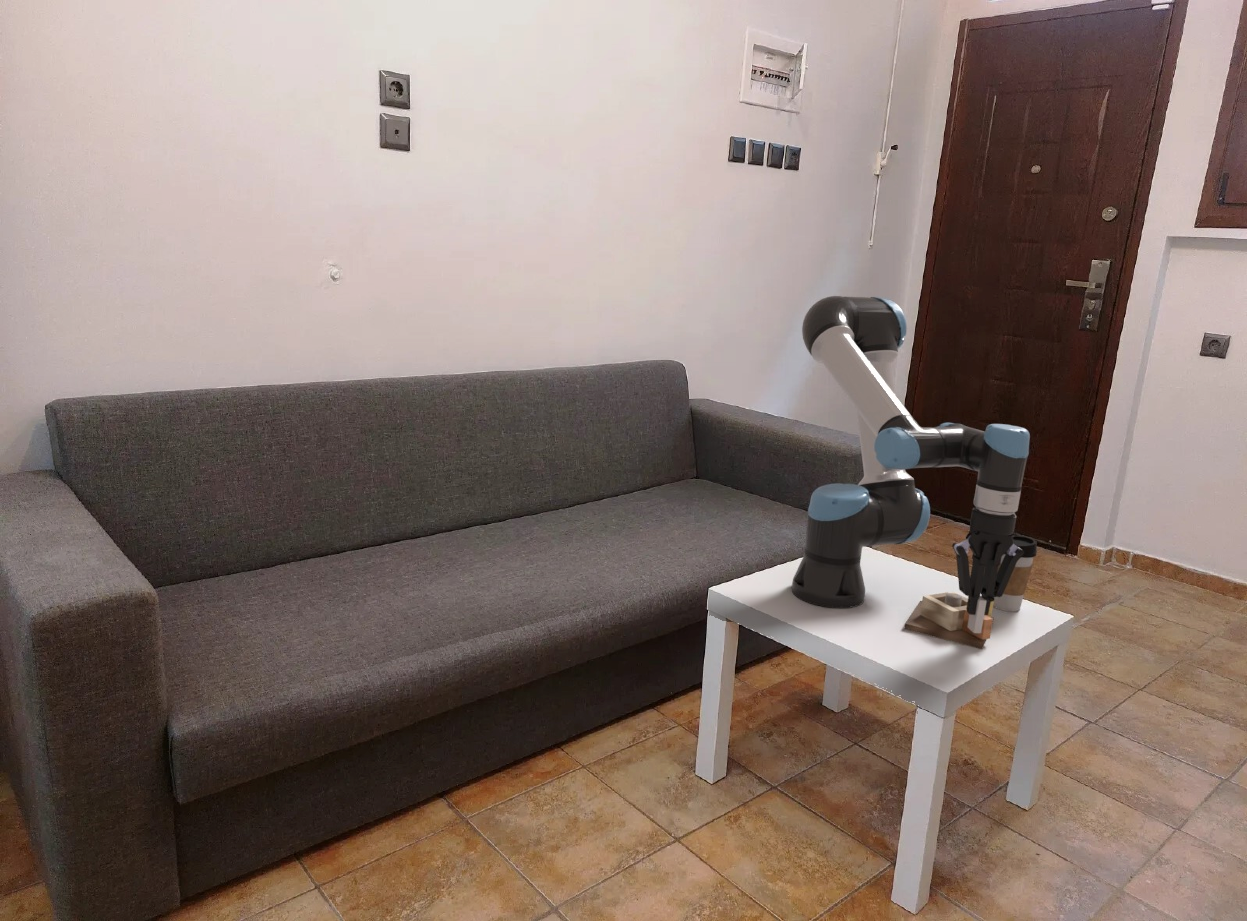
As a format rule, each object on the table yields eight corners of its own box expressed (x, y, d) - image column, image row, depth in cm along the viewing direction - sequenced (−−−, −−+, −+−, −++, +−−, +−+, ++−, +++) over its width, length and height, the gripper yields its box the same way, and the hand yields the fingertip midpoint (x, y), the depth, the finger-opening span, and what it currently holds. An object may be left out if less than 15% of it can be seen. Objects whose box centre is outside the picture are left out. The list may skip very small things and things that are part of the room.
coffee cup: (1031, 616, 178) (1043, 547, 175) (987, 610, 180) (999, 542, 176) (1021, 601, 186) (1032, 535, 183) (980, 596, 188) (990, 530, 184)
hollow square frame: (920, 614, 172) (923, 595, 171) (950, 609, 176) (952, 591, 175) (970, 641, 161) (973, 622, 160) (1001, 636, 164) (1004, 616, 163)
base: (903, 629, 168) (908, 598, 167) (919, 605, 180) (923, 577, 179) (982, 649, 161) (987, 617, 160) (993, 623, 174) (998, 593, 172)
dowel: (982, 628, 168) (987, 595, 166) (983, 626, 169) (988, 594, 167) (988, 630, 167) (994, 597, 165) (989, 628, 168) (995, 595, 166)
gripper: (969, 513, 153) (949, 637, 158) (1039, 517, 154) (1017, 640, 159) (951, 502, 160) (932, 620, 166) (1018, 505, 161) (997, 623, 167)
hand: (974, 630), depth 162 cm, fingers closed
